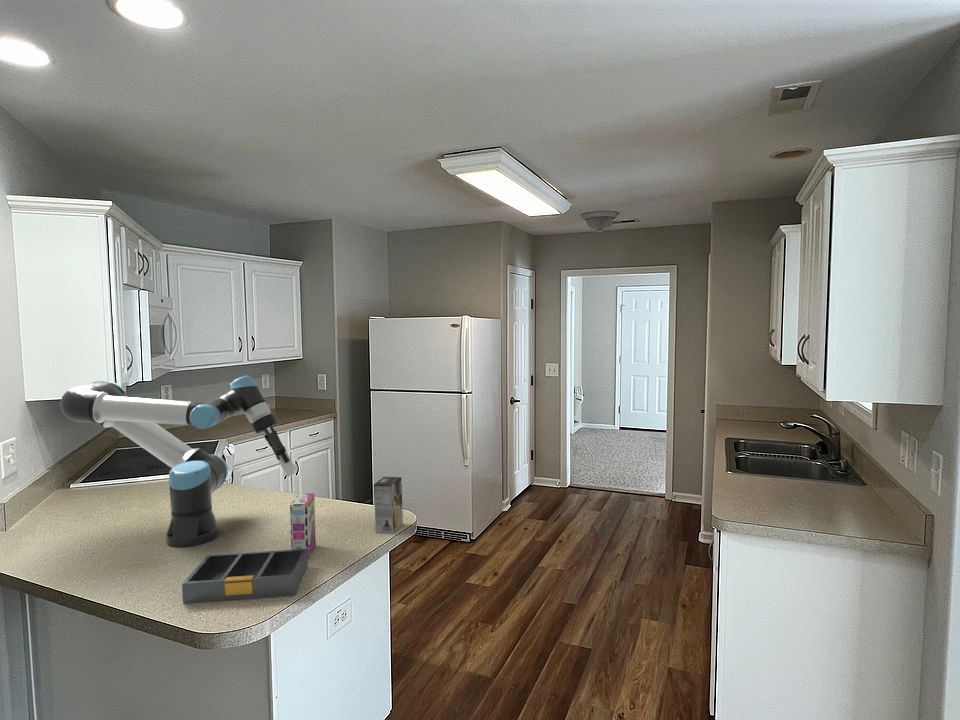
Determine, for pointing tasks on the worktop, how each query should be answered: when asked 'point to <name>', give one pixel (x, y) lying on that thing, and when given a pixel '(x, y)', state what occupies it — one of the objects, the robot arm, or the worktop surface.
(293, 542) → the candy bar box
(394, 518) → the coffee box
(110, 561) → the worktop surface
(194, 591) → the bay rack
